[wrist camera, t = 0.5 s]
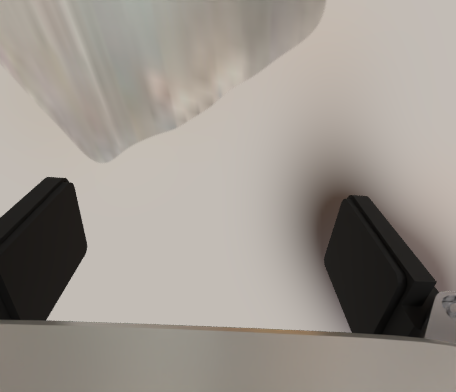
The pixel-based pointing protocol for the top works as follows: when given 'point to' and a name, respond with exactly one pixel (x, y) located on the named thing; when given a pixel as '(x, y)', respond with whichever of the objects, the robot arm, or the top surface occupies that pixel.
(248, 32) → the top surface
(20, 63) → the top surface
